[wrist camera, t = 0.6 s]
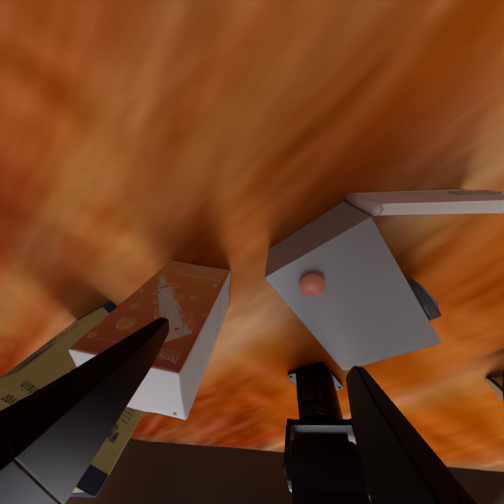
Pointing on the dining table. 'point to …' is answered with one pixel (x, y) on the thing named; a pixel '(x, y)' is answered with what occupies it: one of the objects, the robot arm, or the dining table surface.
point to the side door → (428, 202)
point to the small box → (179, 337)
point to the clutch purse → (497, 385)
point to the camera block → (351, 289)
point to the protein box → (51, 368)
